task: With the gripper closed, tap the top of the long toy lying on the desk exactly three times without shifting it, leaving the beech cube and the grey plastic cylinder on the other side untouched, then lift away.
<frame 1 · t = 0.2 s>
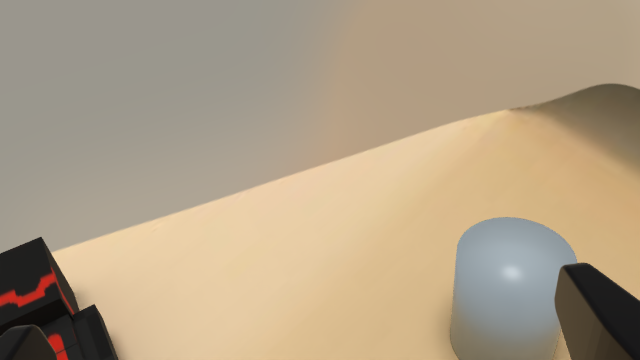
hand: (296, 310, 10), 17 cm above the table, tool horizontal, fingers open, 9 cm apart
grey cylinder: (500, 338, 28), on the table
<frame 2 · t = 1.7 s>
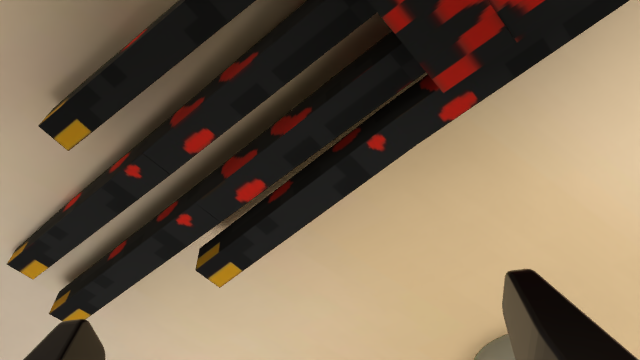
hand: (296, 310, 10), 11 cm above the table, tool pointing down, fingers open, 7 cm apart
toy: (299, 40, 19), on the table
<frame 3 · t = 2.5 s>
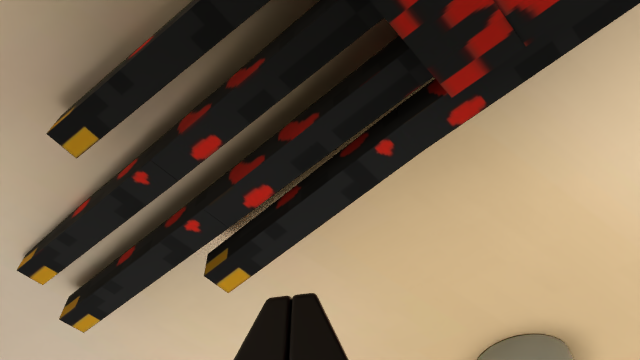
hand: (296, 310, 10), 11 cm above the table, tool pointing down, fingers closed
toy: (306, 44, 19), on the table
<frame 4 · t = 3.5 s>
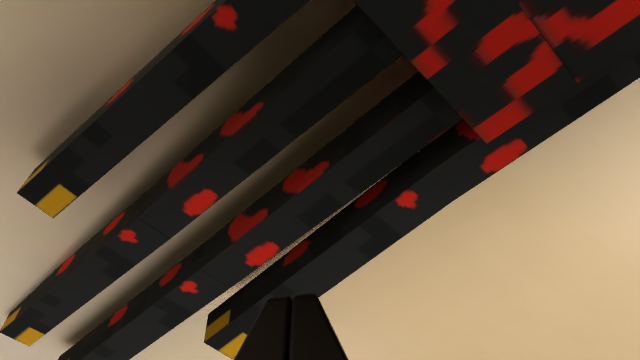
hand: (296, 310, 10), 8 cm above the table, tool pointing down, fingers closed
toy: (312, 78, 16), on the table
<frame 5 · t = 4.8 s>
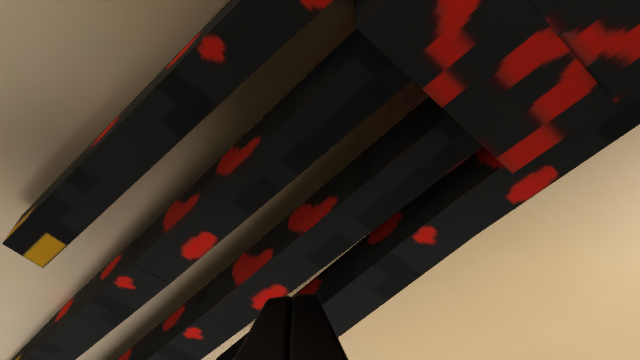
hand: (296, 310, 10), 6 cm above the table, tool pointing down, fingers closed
toy: (315, 104, 15), on the table
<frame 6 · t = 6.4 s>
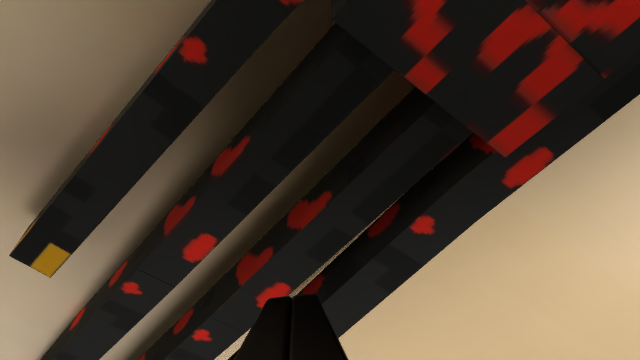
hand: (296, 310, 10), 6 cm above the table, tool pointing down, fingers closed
toy: (307, 100, 15), on the table
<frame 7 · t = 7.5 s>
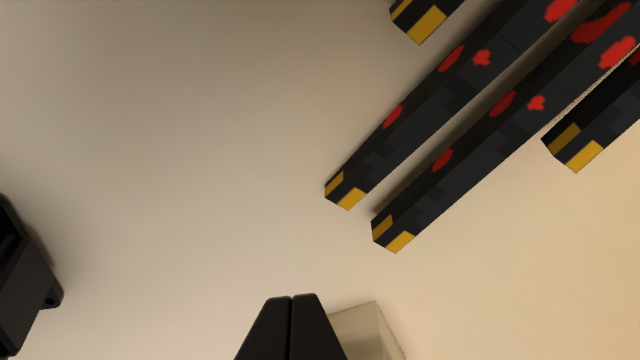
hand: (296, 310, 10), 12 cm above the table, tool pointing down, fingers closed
beech cube: (346, 341, 29), on the table
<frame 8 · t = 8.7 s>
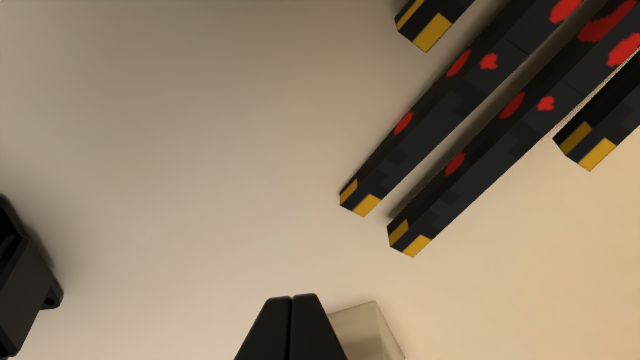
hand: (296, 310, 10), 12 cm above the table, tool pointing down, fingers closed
beech cube: (345, 341, 29), on the table
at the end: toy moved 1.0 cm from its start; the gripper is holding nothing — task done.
